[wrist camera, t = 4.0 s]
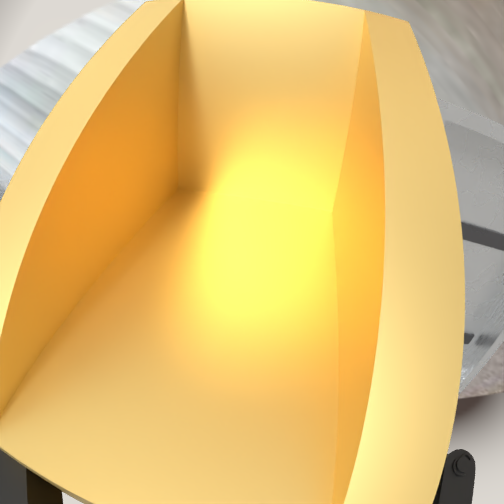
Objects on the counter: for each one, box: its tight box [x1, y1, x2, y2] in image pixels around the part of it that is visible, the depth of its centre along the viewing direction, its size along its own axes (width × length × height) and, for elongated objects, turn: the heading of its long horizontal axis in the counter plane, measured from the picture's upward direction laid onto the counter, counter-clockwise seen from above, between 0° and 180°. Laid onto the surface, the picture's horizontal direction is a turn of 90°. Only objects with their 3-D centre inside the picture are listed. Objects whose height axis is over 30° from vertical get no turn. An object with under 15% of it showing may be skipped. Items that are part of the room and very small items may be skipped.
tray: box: [436, 98, 504, 395], centre depth 21 cm, size 14×26×4 cm, turn 175°
